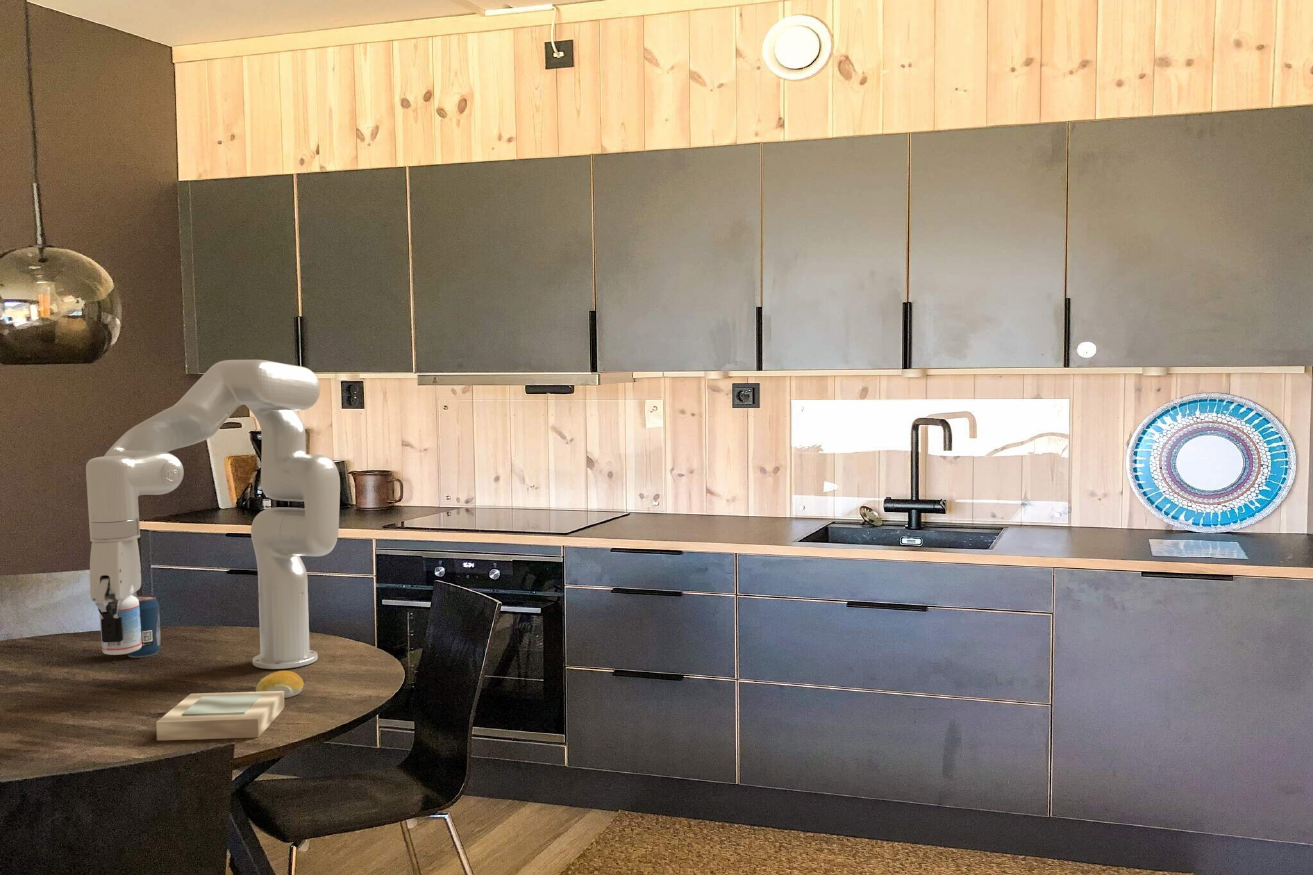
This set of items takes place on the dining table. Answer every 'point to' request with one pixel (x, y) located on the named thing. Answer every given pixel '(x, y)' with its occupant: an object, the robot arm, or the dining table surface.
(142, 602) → the soda can
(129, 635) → the pill bottle
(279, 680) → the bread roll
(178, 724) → the birch plinth
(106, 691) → the dining table surface
